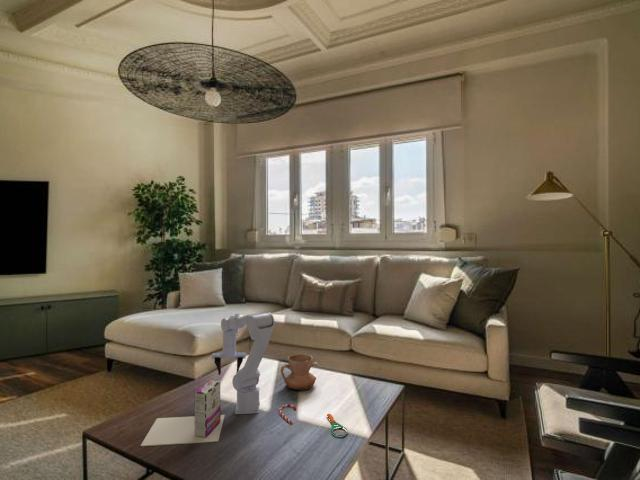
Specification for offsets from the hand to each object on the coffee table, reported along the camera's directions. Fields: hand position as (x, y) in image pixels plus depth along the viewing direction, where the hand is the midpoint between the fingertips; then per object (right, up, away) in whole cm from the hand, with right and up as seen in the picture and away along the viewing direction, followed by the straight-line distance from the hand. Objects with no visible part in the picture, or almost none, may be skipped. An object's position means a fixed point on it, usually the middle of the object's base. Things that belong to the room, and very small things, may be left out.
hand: (228, 373), depth 160 cm
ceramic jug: (+31, -11, +12) cm, 35 cm away
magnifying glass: (+47, -12, -22) cm, 54 cm away
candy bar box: (-1, -11, -26) cm, 29 cm away
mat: (-9, -11, -27) cm, 30 cm away
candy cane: (+29, -12, -14) cm, 34 cm away
